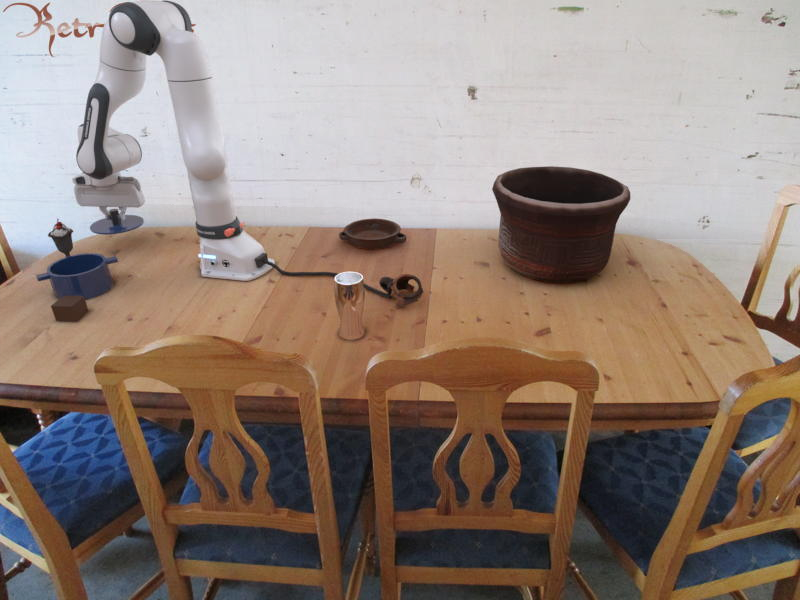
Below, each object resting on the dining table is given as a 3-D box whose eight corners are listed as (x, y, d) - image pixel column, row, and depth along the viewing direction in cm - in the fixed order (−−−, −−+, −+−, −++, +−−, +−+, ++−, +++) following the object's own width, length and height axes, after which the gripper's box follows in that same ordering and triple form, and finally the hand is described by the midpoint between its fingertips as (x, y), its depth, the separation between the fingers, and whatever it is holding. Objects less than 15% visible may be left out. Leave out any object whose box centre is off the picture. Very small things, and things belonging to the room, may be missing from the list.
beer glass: (337, 326, 141) (333, 271, 134) (366, 325, 141) (363, 270, 134) (337, 342, 135) (332, 285, 127) (366, 340, 135) (364, 284, 128)
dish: (344, 230, 194) (343, 217, 192) (409, 232, 192) (409, 218, 190) (334, 252, 179) (332, 237, 177) (404, 254, 177) (404, 239, 175)
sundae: (72, 268, 171) (57, 221, 164) (53, 267, 172) (37, 220, 165) (87, 259, 177) (73, 213, 170) (68, 258, 178) (53, 212, 171)
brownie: (88, 310, 149) (83, 295, 147) (76, 321, 144) (71, 306, 142) (68, 310, 150) (63, 295, 147) (56, 321, 145) (50, 305, 143)
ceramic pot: (472, 281, 161) (477, 195, 148) (502, 234, 190) (508, 159, 178) (610, 304, 148) (628, 213, 136) (620, 250, 178) (635, 171, 166)
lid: (150, 228, 179) (146, 211, 176) (96, 240, 171) (91, 222, 168) (137, 214, 190) (133, 198, 188) (86, 224, 182) (81, 208, 180)
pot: (128, 288, 160) (122, 264, 156) (48, 309, 150) (39, 284, 146) (116, 269, 170) (110, 246, 167) (40, 288, 160) (32, 264, 157)
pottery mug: (423, 292, 157) (428, 275, 150) (414, 320, 152) (419, 305, 145) (382, 278, 157) (385, 261, 150) (371, 306, 152) (373, 290, 145)
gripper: (142, 173, 175) (152, 216, 182) (78, 172, 176) (90, 215, 183) (132, 180, 169) (143, 223, 176) (66, 178, 171) (79, 222, 178)
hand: (116, 219), depth 180 cm, fingers closed on lid, 2 cm apart
